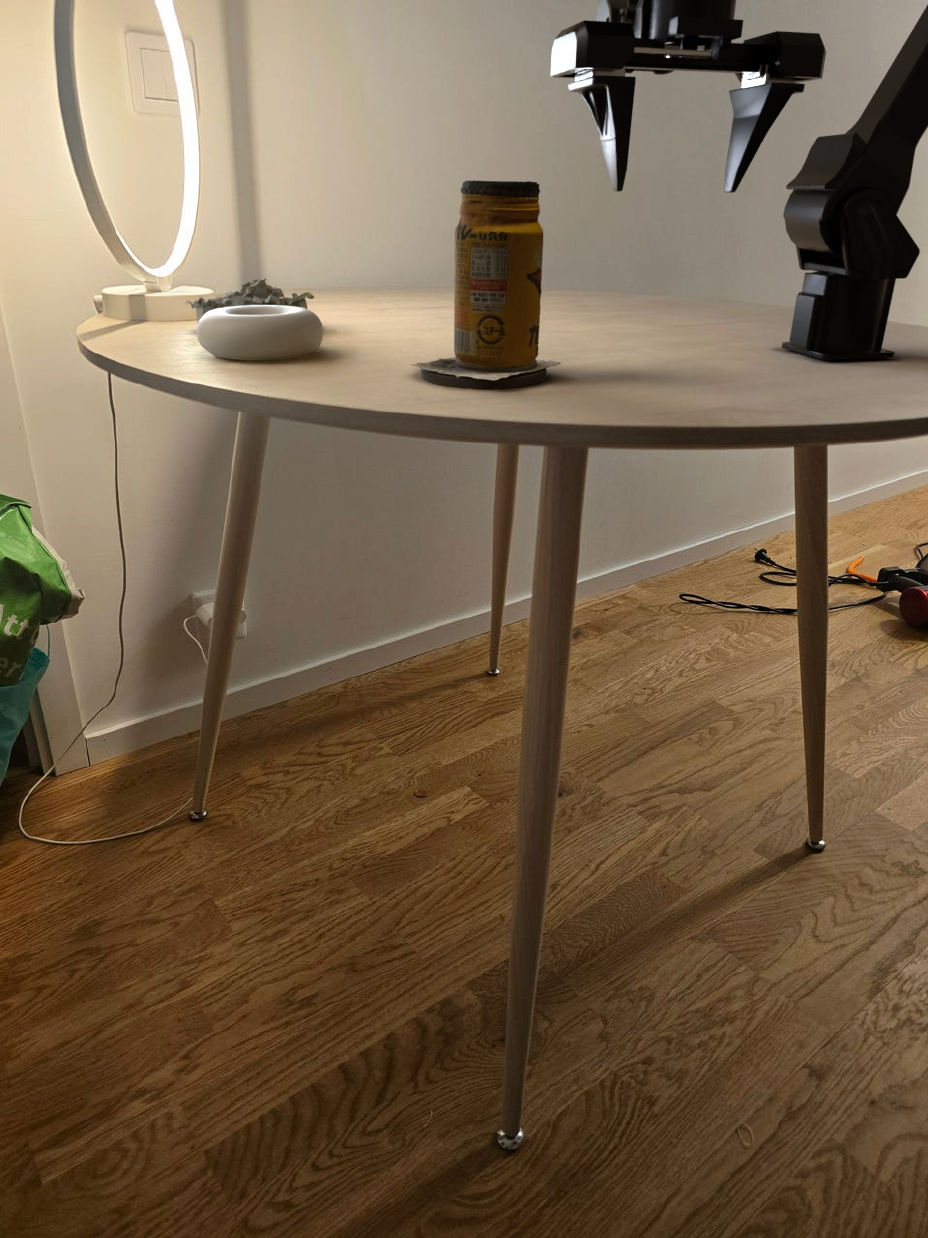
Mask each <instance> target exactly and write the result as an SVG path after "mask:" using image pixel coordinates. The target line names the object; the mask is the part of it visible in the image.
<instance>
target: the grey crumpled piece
mask: <svg viewBox="0 0 928 1238" xmlns="http://www.w3.org/2000/svg"><path fill="white" fill-rule="evenodd" d="M266 281H267V279H266V278H262V279H261V278H260V279H259V280H258V279H253V280H252V281H247V282H246V283H244V284H241V286H240V289H239V291H238V290H237V291H228V292H227V294H226V295H225V296H220V297H217V298H213V297H212V298H208V299H204V298H203V297H202V296H200V297H199V298H198V300H196V299H195V300H194V301H192V302H191V301H190V300H186V302H185V304H186V305H187V304H189V305H190V306H191V309H192V310H193V309H195V315H196V321H197V322H196V323H197V324H198V322H199V320H200V319H201V318H202V317H203V315H204V314H205V313H207V312H209V311H211V310H214V309H218V308H225V307H233V306H246V305H282V306H294V307H301V308H305V309H308V303H307V300H306V298H307V299H309V300H313V299H315V296H314V295H313V294H312V293H311V292H310V291H308V292H303V293H301V294H299V295H298V293H296V292H294V293H291V297H289V296H286V297H285V295H284V292H283V290H282V289H281V287H278V286H272V285H270V284H267V283H266Z"/></svg>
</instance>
